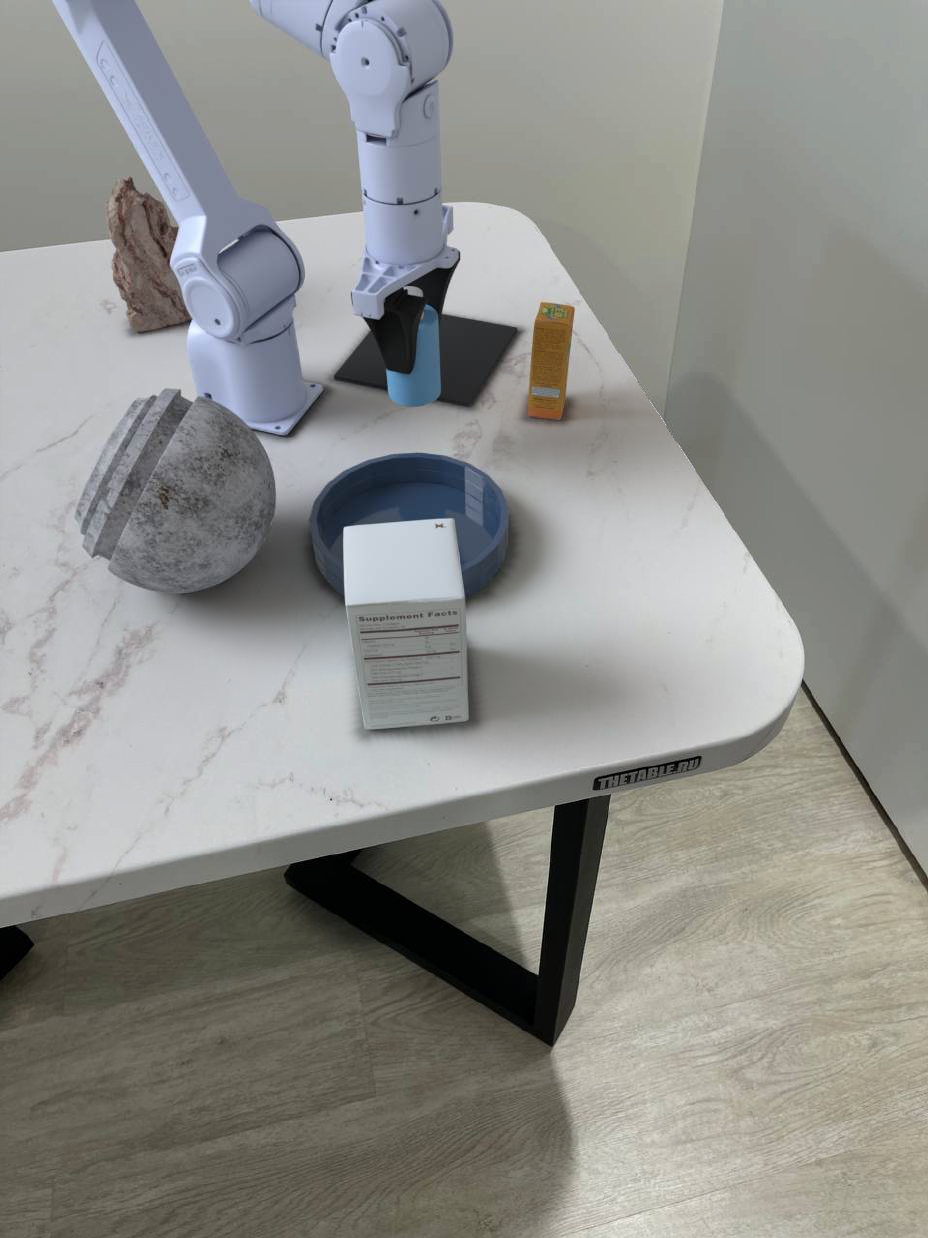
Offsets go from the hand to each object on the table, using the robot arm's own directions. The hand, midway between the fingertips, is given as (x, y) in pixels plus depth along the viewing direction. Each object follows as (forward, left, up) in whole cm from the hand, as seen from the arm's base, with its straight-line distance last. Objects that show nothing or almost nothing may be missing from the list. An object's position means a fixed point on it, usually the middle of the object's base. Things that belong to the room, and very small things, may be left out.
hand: (411, 354), depth 82 cm
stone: (-34, +14, -11) cm, 39 cm away
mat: (-5, +15, -10) cm, 19 cm away
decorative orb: (-11, -19, -11) cm, 24 cm away
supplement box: (+9, +10, -11) cm, 17 cm away
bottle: (0, 0, -4) cm, 4 cm away
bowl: (+4, -11, -10) cm, 15 cm away
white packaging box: (+10, -25, -10) cm, 28 cm away
